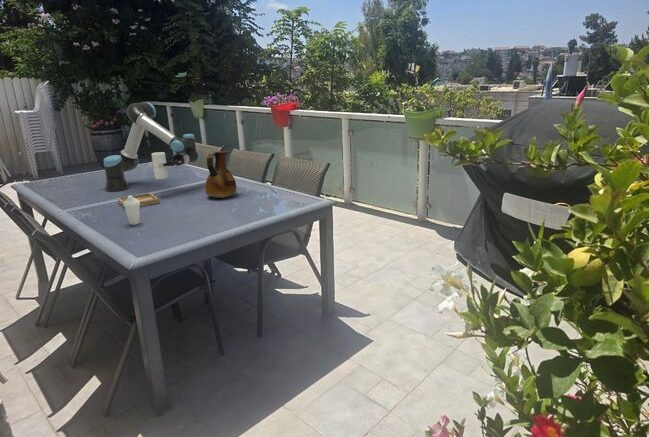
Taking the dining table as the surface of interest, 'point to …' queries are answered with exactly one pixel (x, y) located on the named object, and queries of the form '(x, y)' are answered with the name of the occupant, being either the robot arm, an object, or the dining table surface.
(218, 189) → the ceramic pitcher
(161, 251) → the dining table surface
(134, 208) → the soft serve ice cream cone
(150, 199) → the tray
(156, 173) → the cup
